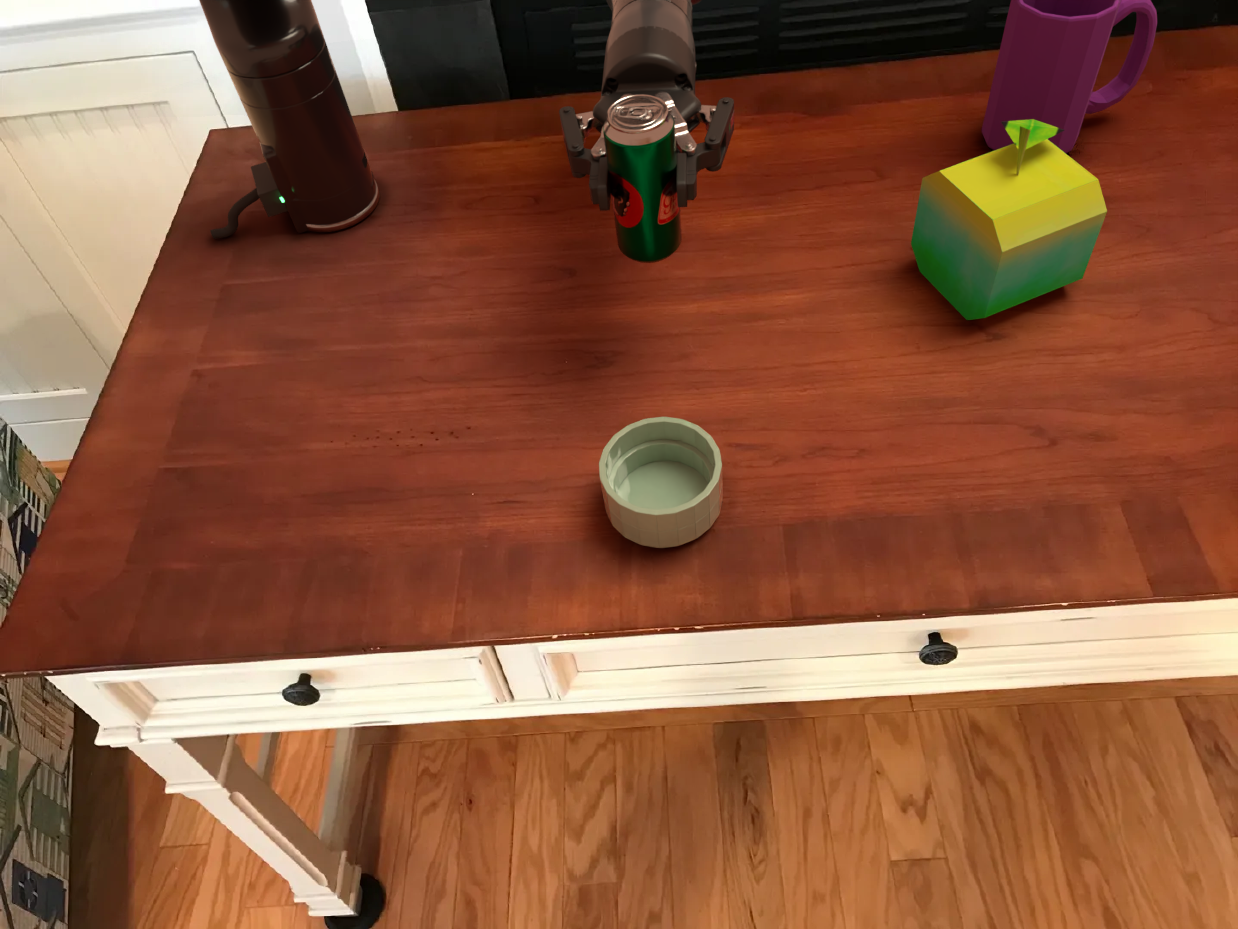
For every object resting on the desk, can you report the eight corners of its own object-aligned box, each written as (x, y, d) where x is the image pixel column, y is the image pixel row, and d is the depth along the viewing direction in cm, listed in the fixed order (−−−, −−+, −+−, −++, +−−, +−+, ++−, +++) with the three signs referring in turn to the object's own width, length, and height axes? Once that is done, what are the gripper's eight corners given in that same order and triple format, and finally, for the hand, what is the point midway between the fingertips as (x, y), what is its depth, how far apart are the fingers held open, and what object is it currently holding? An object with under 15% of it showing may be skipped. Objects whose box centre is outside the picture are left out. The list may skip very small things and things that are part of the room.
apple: (1076, 294, 85) (1131, 145, 73) (979, 333, 83) (1020, 187, 72) (999, 224, 91) (1038, 76, 80) (907, 259, 90) (933, 114, 78)
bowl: (632, 569, 73) (626, 532, 69) (589, 480, 78) (581, 441, 74) (742, 525, 74) (742, 487, 70) (693, 441, 79) (690, 401, 75)
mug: (963, 124, 101) (993, -20, 89) (1098, 87, 103) (1146, -60, 91) (1010, 175, 96) (1049, 28, 84) (1153, 135, 97) (1211, -15, 85)
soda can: (677, 268, 76) (667, 134, 66) (613, 265, 77) (594, 132, 67) (686, 225, 79) (678, 90, 69) (624, 223, 80) (608, 89, 70)
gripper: (557, 29, 79) (536, 160, 68) (737, 17, 77) (743, 149, 67) (569, 112, 85) (552, 244, 74) (737, 102, 83) (742, 236, 73)
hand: (642, 198), depth 71 cm, fingers closed on soda can, 5 cm apart
